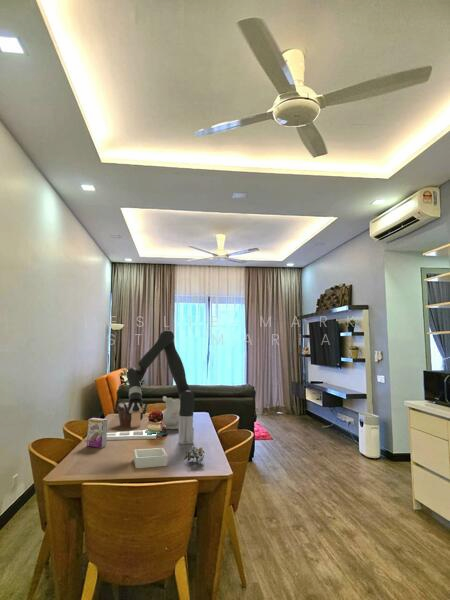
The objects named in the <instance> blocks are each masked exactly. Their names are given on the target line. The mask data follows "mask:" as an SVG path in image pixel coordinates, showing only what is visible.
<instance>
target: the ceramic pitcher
mask: <svg viewBox="0 0 450 600" xmlns="http://www.w3.org/2000/svg"><path fill="white" fill-rule="evenodd" d="M162 401H163V402H165V406H166V407H165V408H164V410H162V411H161V412H162V413H163V423H162V424H163V425H165V427H164V430H166V429H169V430H179V411H180V399H179V398H172V397H167V396H166V395H164V396H162Z"/></svg>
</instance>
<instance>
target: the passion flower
mask: <svg viewBox="0 0 450 600" xmlns="http://www.w3.org/2000/svg"><path fill="white" fill-rule="evenodd" d="M190 447H191V450H189V451H187V450H185V451H184V453H185V455H186V456H185V457H184V458H183V461H185V460H186V459H187V460H186V464H188V463H189V462H190V461H191V459H193V460H194V459H195V461H196V462H197V464H198V465H199V466H203V462H204V460H205V459H204V458H205V450H203V447H198V446H195V445H191V444H190Z"/></svg>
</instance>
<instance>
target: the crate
mask: <svg viewBox="0 0 450 600" xmlns="http://www.w3.org/2000/svg"><path fill="white" fill-rule="evenodd" d="M168 458H169V456H168V454H167V452H166V451H165V448H163V447H158V448H155V447H154V448H141V449H133V462H134V466H135V469H145V468H157V467H168Z"/></svg>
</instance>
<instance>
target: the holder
mask: <svg viewBox="0 0 450 600" xmlns="http://www.w3.org/2000/svg"><path fill="white" fill-rule="evenodd" d="M146 430H147V429H143V430H130V431H116V432H107V437H106V441H120V440H121V441H123V440H124V441H126V440H152V439H153V440H154V439H157V433H156V434H152V435H147V433H145V431H146ZM86 442H87V439H86Z"/></svg>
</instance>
